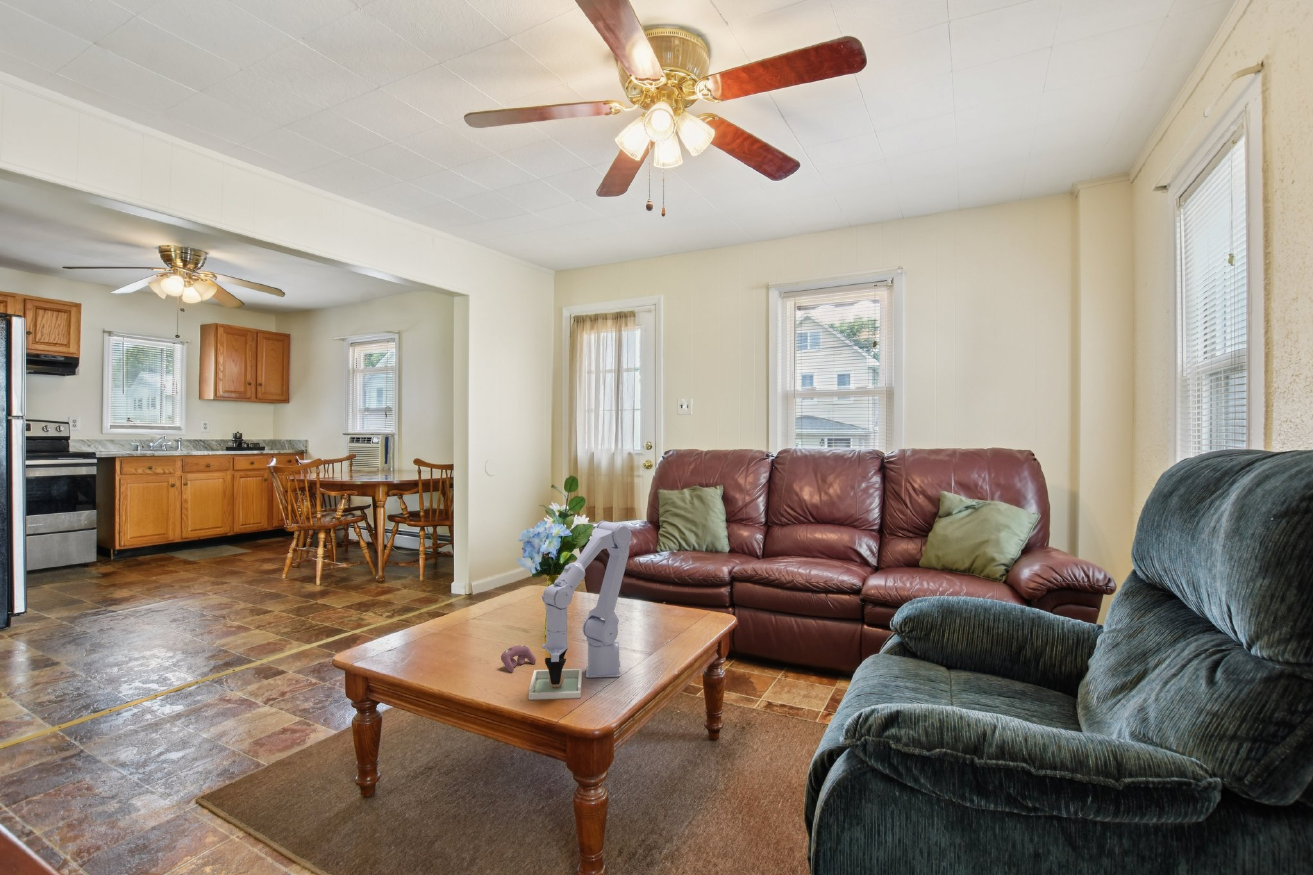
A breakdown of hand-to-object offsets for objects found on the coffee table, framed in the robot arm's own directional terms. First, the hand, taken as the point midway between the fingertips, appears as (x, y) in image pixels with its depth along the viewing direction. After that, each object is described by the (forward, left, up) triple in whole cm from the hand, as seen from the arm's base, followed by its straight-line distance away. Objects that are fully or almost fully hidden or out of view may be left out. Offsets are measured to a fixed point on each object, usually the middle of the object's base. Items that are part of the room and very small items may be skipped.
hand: (556, 678), depth 168 cm
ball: (0, 0, -2) cm, 2 cm away
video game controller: (+13, -17, -3) cm, 21 cm away
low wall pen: (0, 0, -3) cm, 3 cm away
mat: (0, 0, -3) cm, 3 cm away
